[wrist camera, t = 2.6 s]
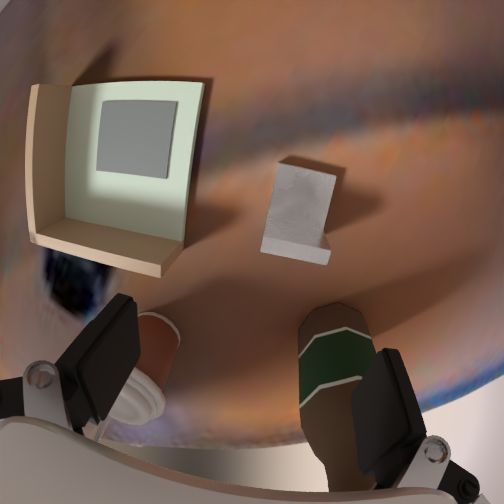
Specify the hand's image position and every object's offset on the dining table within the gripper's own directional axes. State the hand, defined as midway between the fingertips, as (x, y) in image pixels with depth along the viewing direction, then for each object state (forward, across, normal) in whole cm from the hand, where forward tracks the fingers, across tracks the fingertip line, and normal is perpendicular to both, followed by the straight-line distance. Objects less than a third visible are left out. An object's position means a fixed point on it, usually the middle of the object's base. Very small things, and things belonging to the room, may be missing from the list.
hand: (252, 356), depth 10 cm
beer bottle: (+17, -9, +11) cm, 22 cm away
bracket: (+17, -2, -2) cm, 18 cm away
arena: (+17, +16, -3) cm, 24 cm away
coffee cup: (+17, +11, +17) cm, 27 cm away
